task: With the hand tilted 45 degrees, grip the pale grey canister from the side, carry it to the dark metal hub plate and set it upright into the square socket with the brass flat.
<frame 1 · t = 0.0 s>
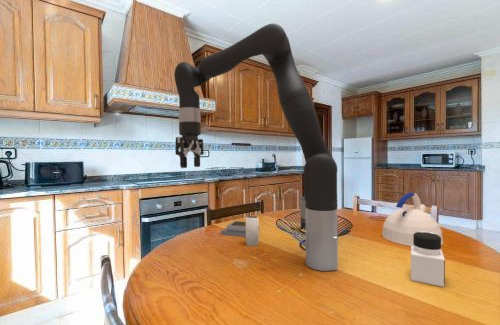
hand: (190, 167, 92), 29 cm above the table, tool pointing down, fingers open, 8 cm apart
milk frother: (318, 231, 113), on the table
pale grey canister: (252, 243, 97), on the table
kettle: (411, 239, 101), on the table
medicine bottle: (426, 279, 69), on the table
hub plate: (240, 231, 113), on the table
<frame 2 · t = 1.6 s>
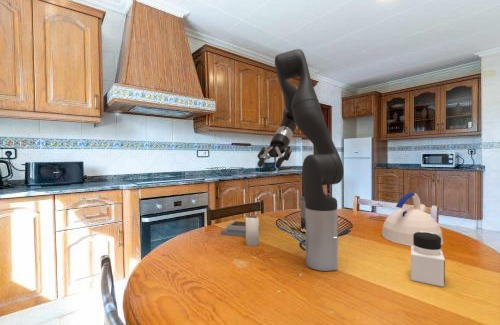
hand: (267, 166, 105), 29 cm above the table, tool tilted 45°, fingers open, 8 cm apart
nothing on the table moved.
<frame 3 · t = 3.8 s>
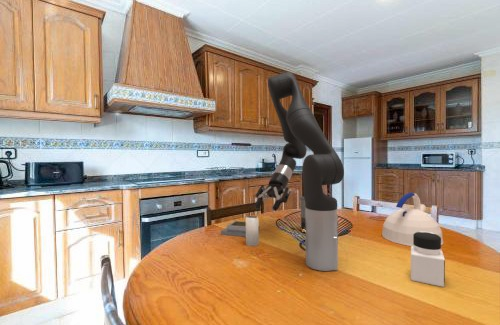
hand: (265, 208, 103), 12 cm above the table, tool tilted 45°, fingers open, 8 cm apart
nothing on the table moved.
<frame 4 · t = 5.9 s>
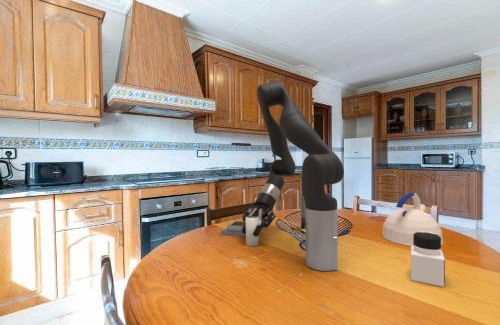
hand: (249, 234, 96), 4 cm above the table, tool tilted 45°, fingers closed on pale grey canister, 5 cm apart
pale grey canister: (252, 243, 97), on the table, touching gripper
everything else where it was.
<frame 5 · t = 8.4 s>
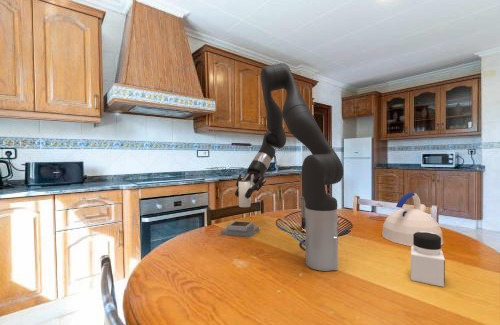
hand: (241, 196, 104), 17 cm above the table, tool tilted 45°, fingers closed on pale grey canister, 4 cm apart
pale grey canister: (244, 205, 106), point 13 cm above the table, touching gripper
everything else where it was.
when the fingers open (8 cm above the table, at t = 10.9 s): pale grey canister drops 2 cm, resting on hub plate.
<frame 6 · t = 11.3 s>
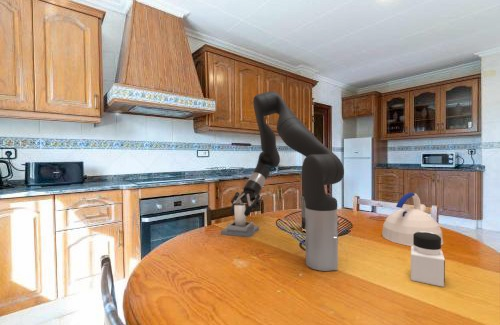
hand: (238, 213, 112), 8 cm above the table, tool tilted 45°, fingers open, 8 cm apart
pale grey canister: (240, 228, 113), point 2 cm above the table, touching hub plate
everything else where it was.
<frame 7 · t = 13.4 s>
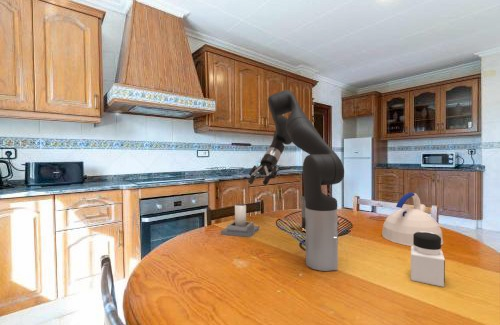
hand: (257, 183, 120), 20 cm above the table, tool tilted 45°, fingers open, 8 cm apart
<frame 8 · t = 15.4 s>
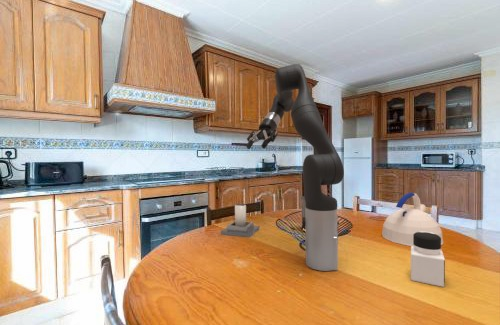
hand: (255, 147, 114), 37 cm above the table, tool tilted 45°, fingers open, 8 cm apart
at the end: pale grey canister 0.2 cm off-centre on the hub plate, point 1.5 cm above the hub plate's base; pale grey canister tilted 0°; the gripper is holding nothing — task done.
